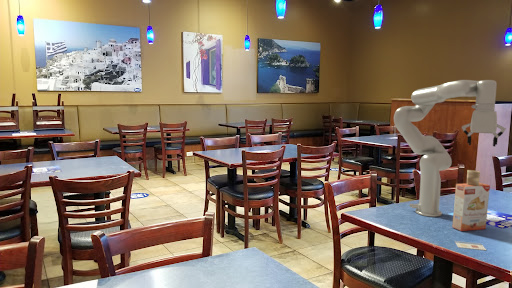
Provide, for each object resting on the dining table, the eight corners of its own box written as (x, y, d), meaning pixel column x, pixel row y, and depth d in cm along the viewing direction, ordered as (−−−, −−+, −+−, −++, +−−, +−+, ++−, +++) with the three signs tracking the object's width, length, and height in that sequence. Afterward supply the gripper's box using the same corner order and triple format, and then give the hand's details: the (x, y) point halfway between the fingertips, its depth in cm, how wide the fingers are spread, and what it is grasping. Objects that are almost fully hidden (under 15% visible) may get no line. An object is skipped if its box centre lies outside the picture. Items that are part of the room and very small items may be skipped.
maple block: (467, 184, 174) (468, 171, 173) (466, 182, 178) (467, 169, 177) (478, 185, 172) (480, 172, 171) (477, 183, 176) (478, 170, 175)
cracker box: (461, 232, 173) (465, 186, 170) (451, 227, 179) (454, 183, 176) (486, 229, 176) (490, 184, 174) (476, 225, 182) (479, 182, 180)
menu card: (458, 247, 154) (458, 246, 154) (454, 241, 161) (454, 240, 161) (486, 250, 152) (486, 249, 152) (481, 244, 158) (481, 243, 158)
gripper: (463, 107, 174) (460, 145, 176) (508, 108, 167) (505, 147, 169) (462, 107, 181) (460, 143, 183) (506, 108, 173) (503, 146, 175)
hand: (481, 145), depth 176 cm, fingers open, 9 cm apart
